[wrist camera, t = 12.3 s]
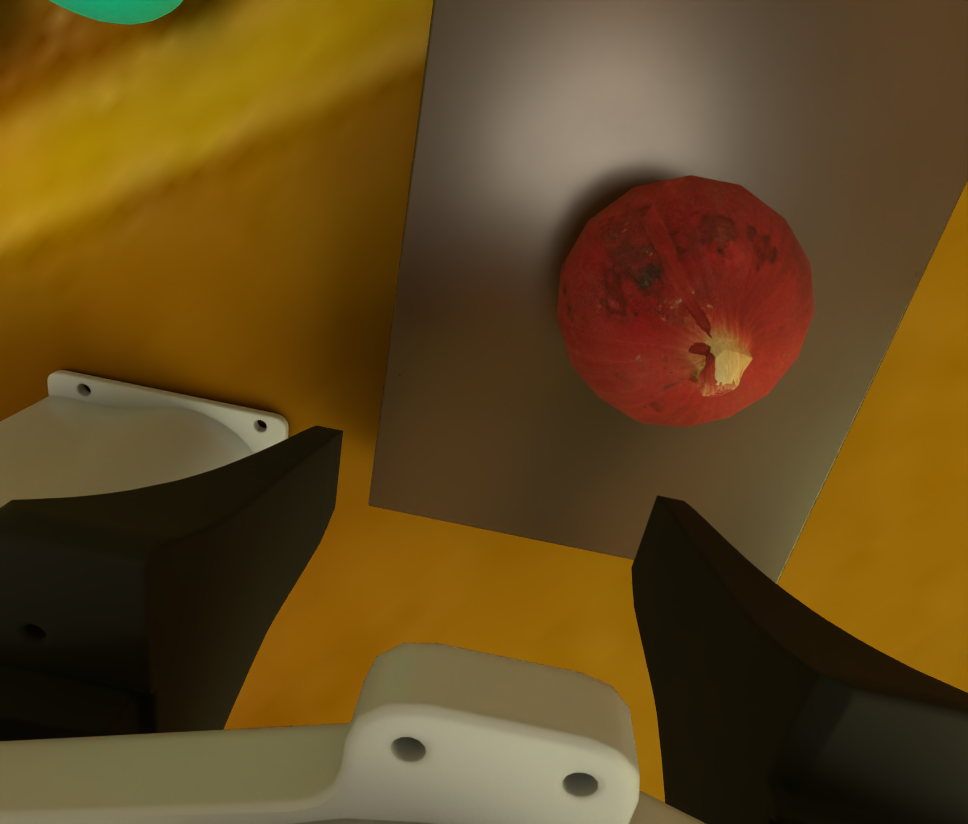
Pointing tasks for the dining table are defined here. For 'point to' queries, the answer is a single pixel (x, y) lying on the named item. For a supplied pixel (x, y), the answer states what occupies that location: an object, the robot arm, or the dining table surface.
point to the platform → (606, 177)
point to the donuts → (120, 9)
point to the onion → (685, 301)
